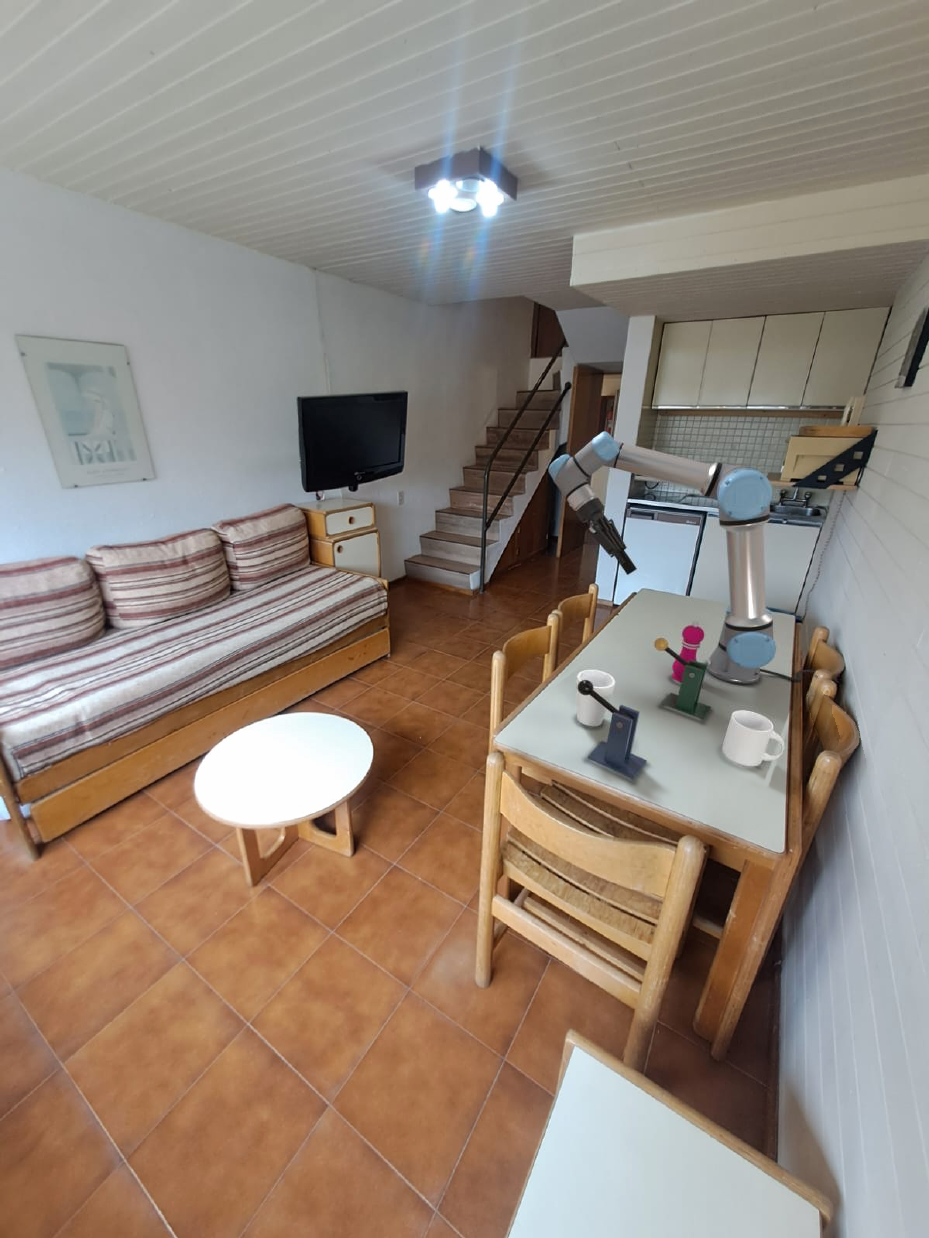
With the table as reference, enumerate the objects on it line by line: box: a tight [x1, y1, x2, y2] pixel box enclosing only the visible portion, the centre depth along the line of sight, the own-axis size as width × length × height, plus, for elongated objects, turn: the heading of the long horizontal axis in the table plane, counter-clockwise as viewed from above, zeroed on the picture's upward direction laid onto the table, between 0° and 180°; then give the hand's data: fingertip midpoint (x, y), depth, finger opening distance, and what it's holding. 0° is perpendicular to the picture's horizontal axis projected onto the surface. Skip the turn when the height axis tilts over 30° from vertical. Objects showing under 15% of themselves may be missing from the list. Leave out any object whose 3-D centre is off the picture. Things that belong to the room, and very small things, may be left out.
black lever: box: [578, 680, 634, 720], centre depth 112 cm, size 14×4×4 cm, turn 51°
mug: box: [721, 709, 786, 767], centre depth 115 cm, size 9×12×11 cm
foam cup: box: [575, 669, 616, 727], centre depth 127 cm, size 10×9×13 cm
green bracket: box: [661, 660, 712, 720], centre depth 134 cm, size 11×8×14 cm
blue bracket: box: [587, 704, 647, 780], centre depth 112 cm, size 11×8×14 cm
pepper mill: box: [671, 620, 705, 683], centre depth 148 cm, size 7×7×20 cm
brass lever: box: [653, 637, 702, 670], centre depth 134 cm, size 14×4×4 cm, turn 51°
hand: (632, 572), depth 139 cm, fingers closed
